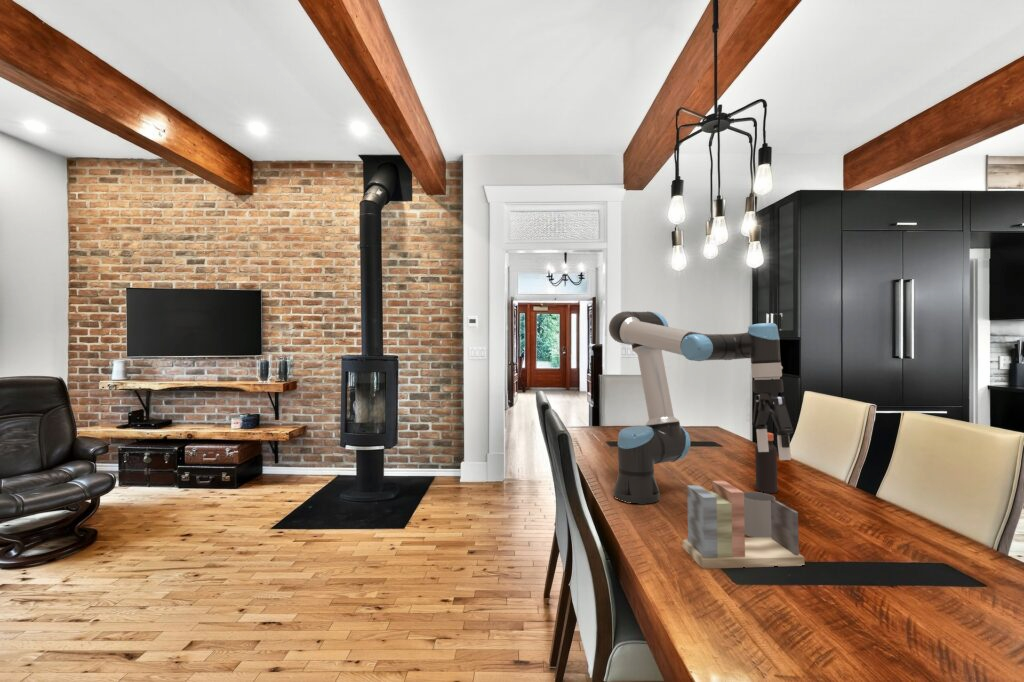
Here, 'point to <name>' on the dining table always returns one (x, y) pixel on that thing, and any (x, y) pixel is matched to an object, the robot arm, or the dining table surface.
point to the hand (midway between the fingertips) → (773, 455)
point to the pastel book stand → (737, 531)
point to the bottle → (766, 467)
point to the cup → (757, 514)
